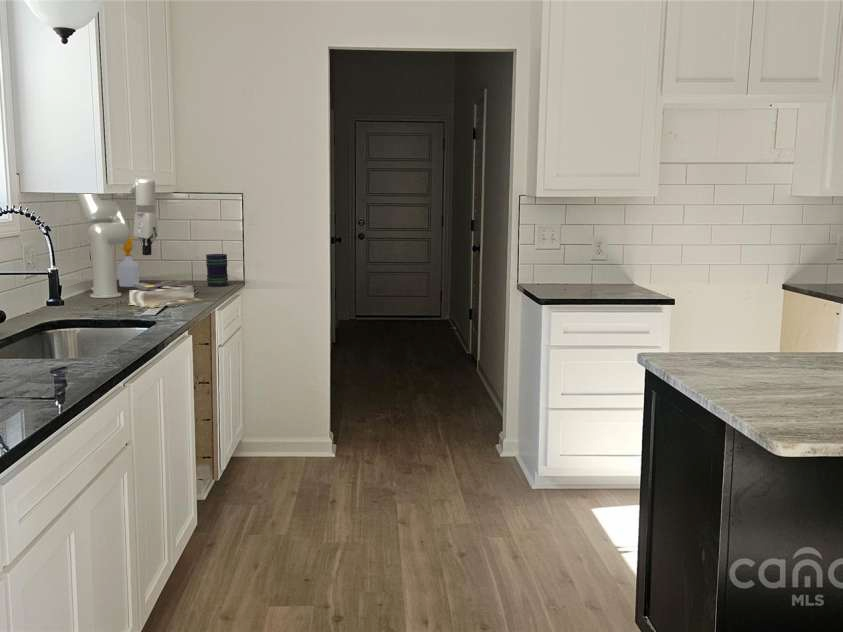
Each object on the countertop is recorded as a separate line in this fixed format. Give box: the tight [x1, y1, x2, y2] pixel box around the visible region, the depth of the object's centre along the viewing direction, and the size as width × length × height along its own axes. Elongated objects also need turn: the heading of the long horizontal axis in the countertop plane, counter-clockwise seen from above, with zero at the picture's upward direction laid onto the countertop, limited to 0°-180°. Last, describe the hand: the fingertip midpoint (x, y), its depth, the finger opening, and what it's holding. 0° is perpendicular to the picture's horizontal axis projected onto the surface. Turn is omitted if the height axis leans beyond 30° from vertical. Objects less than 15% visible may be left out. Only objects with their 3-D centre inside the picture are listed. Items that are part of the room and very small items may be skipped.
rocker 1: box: [132, 282, 156, 290], centre depth 342 cm, size 9×4×1 cm, turn 52°
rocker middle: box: [153, 280, 174, 288], centre depth 348 cm, size 9×4×1 cm, turn 52°
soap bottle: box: [117, 233, 140, 288], centre depth 407 cm, size 9×9×25 cm
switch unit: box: [128, 284, 204, 309], centre depth 348 cm, size 15×25×6 cm, turn 142°
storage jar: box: [205, 253, 229, 288], centre depth 408 cm, size 10×10×15 cm
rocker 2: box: [167, 279, 190, 286], centre depth 355 cm, size 9×4×1 cm, turn 52°
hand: (147, 254), depth 349 cm, fingers closed
